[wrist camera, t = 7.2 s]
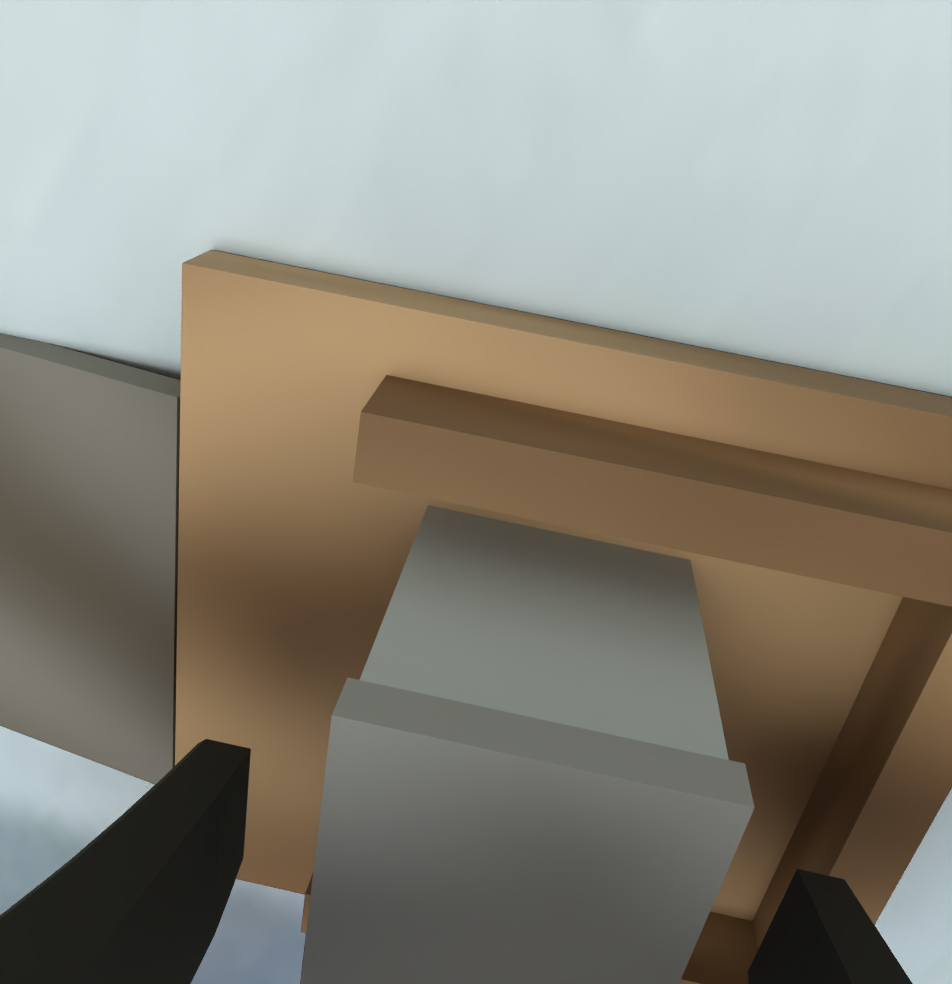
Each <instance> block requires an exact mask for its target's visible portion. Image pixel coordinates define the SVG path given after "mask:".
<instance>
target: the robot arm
mask: <svg viewBox="0 0 952 984" xmlns="http://www.w3.org/2000/svg"><path fill="white" fill-rule="evenodd" d="M250 754H251V749H250V748H246V747H241V746H237V745H232V744H228V743H223V742H219V741H214V740H209V739H205V740H203V741H201V742H199V743H198V744H197V745H196V746H195V747H194V748H193V749H191V750H190V751H189V752H188V753H187V754H186V755H185V756H184V757H183V758H182V759H181V760H180V761H179V762H178V763H177V764H176V765H175V766H174V767H173V768H172V769H171V770H170V771H169V772H168V773H167V774H166V775H165V776H164V777H163V778H162V779H161V780H160V781H159V782H158V783H156V784H155V785H154V786H153V787H152V788H151V789H150V790H149V791H148V792H147V793H146V794H145V795H144V796H142V797H141V798H140V799H139V800H138V801H137V802H136V803H135V804H134V805H133V806H132V807H130V808H129V809H128V810H127V811H126V812H125V813H124V814H123V815H122V816H121V817H119V818H118V819H117V820H116V821H115V822H114V823H112V824H111V825H110V826H109V827H108V828H107V829H106V830H104V831H103V832H102V833H101V834H100V835H99V836H97V837H96V838H95V839H94V840H93V841H92V842H91V843H89V844H88V845H87V846H86V847H85V848H84V849H82V850H81V851H80V852H79V853H78V854H77V855H76V856H74V857H73V858H72V859H71V860H70V861H68V862H67V863H66V864H65V865H63V866H62V867H61V868H60V869H59V870H57V871H56V872H55V873H53V874H52V875H51V876H50V877H48V878H47V879H46V880H45V881H43V882H42V883H41V884H40V885H38V886H37V887H36V888H35V889H33V890H32V891H31V892H29V893H28V894H27V895H26V896H24V897H23V898H22V899H21V900H19V901H18V902H17V903H16V904H14V905H13V906H12V907H10V908H9V909H8V910H7V911H5V912H4V913H3V914H1V915H0V984H190V983H191V981H192V979H193V977H194V975H195V973H196V971H197V969H198V967H199V965H200V963H201V961H202V959H203V957H204V955H205V953H206V951H207V949H208V947H209V945H210V943H211V941H212V939H213V937H214V935H215V932H216V929H217V927H218V924H219V922H220V919H221V917H222V914H223V911H224V909H225V906H226V904H227V901H228V898H229V896H230V893H231V890H232V888H233V885H234V882H235V879H236V877H237V874H238V871H239V869H240V866H241V863H242V860H243V857H244V843H245V828H246V813H247V798H248V784H249V769H250ZM748 981H749V984H912V982H911V981H910V979H909V978H908V976H907V975H906V973H905V972H904V970H903V969H902V967H901V965H900V964H899V962H898V961H897V959H896V958H895V956H894V955H893V953H892V952H891V950H890V949H889V947H888V945H887V944H886V942H885V941H884V939H883V938H882V936H881V935H880V933H879V932H878V930H877V928H876V927H875V925H874V924H873V922H872V921H871V919H870V918H869V916H868V915H867V913H866V911H865V910H864V908H863V907H862V905H861V904H860V902H859V901H858V899H857V898H856V896H855V894H854V893H853V891H852V890H851V888H850V887H849V885H848V884H847V882H846V881H845V879H841V878H836V877H832V876H827V875H823V874H818V873H814V872H809V871H805V870H800V869H797V870H796V872H795V874H794V876H793V878H792V880H791V882H790V884H789V886H788V888H787V891H786V893H785V895H784V897H783V899H782V901H781V903H780V905H779V907H778V909H777V911H776V914H775V916H774V918H773V920H772V922H771V924H770V926H769V928H768V930H767V932H766V934H765V937H764V939H763V941H762V943H761V945H760V947H759V949H758V951H757V953H756V955H755V958H754V960H753V962H752V964H751V966H750V968H749V970H748Z"/></svg>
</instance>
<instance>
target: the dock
mask: <svg viewBox="0 0 952 984" xmlns="http://www.w3.org/2000/svg"><path fill="white" fill-rule="evenodd" d="M428 505H429V506H434V507H439V508H444V509H449V510H453V511H458V512H463V513H468V514H473V515H477V516H482V517H487V518H492V519H497V520H501V521H506V522H511V523H516V524H521V525H525V526H530V527H535V528H540V529H545V530H549V531H554V532H559V533H564V534H569V535H573V536H578V537H583V538H588V539H593V540H597V541H602V542H607V543H612V544H617V545H621V546H626V547H631V548H636V549H641V550H646V551H650V552H655V553H660V554H665V555H670V556H674V557H679V558H684V559H689V560H690V561H691V566H692V571H693V576H694V581H695V587H696V592H697V597H698V602H699V608H700V613H701V618H702V623H703V628H704V634H705V639H706V644H707V649H708V654H709V660H710V665H711V670H712V675H713V680H714V686H715V691H716V696H717V701H718V707H719V712H720V717H721V722H722V727H723V733H724V738H725V743H726V748H727V753H728V759H729V760H731V761H736V762H740V763H745V766H746V770H747V775H748V780H749V784H750V789H751V794H752V798H753V803H754V810H753V812H752V815H751V817H750V819H749V822H748V824H747V826H746V829H745V831H744V833H743V836H742V838H741V840H740V843H739V845H738V847H737V850H736V852H735V854H734V857H733V859H732V861H731V864H730V866H729V868H728V871H727V873H726V875H725V878H724V880H723V882H722V885H721V887H720V889H719V892H718V894H717V896H716V899H715V901H714V903H713V906H712V908H711V910H710V913H709V915H708V917H707V920H706V922H705V924H704V927H703V929H702V931H701V934H700V936H699V938H698V941H697V943H696V945H695V948H694V950H693V952H692V955H691V957H690V959H689V962H688V964H687V966H686V969H685V971H684V973H683V976H682V978H681V980H680V983H679V984H749V981H748V970H749V968H750V966H751V964H752V962H753V960H754V958H755V955H756V953H757V951H758V949H759V947H760V945H761V943H762V941H763V939H764V937H765V934H766V932H767V930H768V928H769V926H770V924H771V922H772V920H773V918H774V916H775V914H776V911H777V909H778V907H779V905H780V903H781V901H782V899H783V897H784V895H785V893H786V891H787V888H788V886H789V884H790V882H791V880H792V878H793V876H794V874H795V872H796V870H797V869H800V870H805V871H809V872H814V873H818V874H823V875H827V876H832V877H836V878H841V879H845V881H846V882H847V884H848V885H849V887H850V888H851V890H852V891H853V893H854V894H855V896H856V898H857V899H858V901H859V902H860V904H861V905H862V907H863V908H864V910H865V911H866V913H867V915H868V916H869V918H870V919H871V921H872V922H873V924H874V925H875V923H876V921H877V920H878V918H879V916H880V914H881V912H882V911H883V909H884V907H885V905H886V904H887V902H888V900H889V898H890V896H891V895H892V893H893V891H894V889H895V888H896V886H897V884H898V882H899V880H900V879H901V877H902V875H903V873H904V871H905V870H906V868H907V866H908V864H909V863H910V861H911V859H912V857H913V855H914V854H915V852H916V850H917V848H918V847H919V845H920V843H921V841H922V839H923V838H924V836H925V834H926V832H927V831H928V829H929V827H930V825H931V823H932V822H933V820H934V818H935V816H936V815H937V813H938V811H939V809H940V807H941V806H942V804H943V802H944V800H945V799H946V797H947V795H948V793H949V791H950V790H951V788H952V397H948V396H943V395H938V394H933V393H928V392H923V391H918V390H913V389H908V388H903V387H898V386H892V385H887V384H882V383H877V382H872V381H867V380H862V379H857V378H852V377H847V376H842V375H837V374H832V373H827V372H822V371H817V370H812V369H807V368H802V367H797V366H792V365H787V364H782V363H777V362H772V361H767V360H762V359H757V358H752V357H747V356H742V355H737V354H732V353H727V352H722V351H717V350H712V349H707V348H702V347H697V346H692V345H686V344H681V343H676V342H671V341H666V340H661V339H656V338H651V337H646V336H641V335H636V334H631V333H626V332H621V331H616V330H611V329H606V328H601V327H596V326H591V325H586V324H581V323H576V322H571V321H566V320H561V319H556V318H551V317H546V316H541V315H536V314H531V313H526V312H521V311H516V310H511V309H506V308H501V307H496V306H491V305H485V304H480V303H475V302H470V301H465V300H460V299H455V298H450V297H445V296H440V295H435V294H430V293H425V292H420V291H415V290H410V289H405V288H400V287H395V286H390V285H385V284H380V283H375V282H370V281H365V280H360V279H355V278H350V277H345V276H340V275H335V274H330V273H325V272H320V271H315V270H310V269H305V268H300V267H295V266H290V265H284V264H279V263H274V262H269V261H264V260H259V259H254V258H249V257H244V256H239V255H234V254H229V253H224V252H219V251H214V250H210V251H208V252H206V253H203V254H201V255H199V256H197V257H195V258H192V259H190V260H188V261H186V262H184V263H182V321H181V380H177V379H174V378H170V377H167V376H163V375H159V374H156V373H152V372H149V371H145V370H142V369H138V368H134V367H131V366H127V365H124V364H120V363H117V362H113V361H109V360H106V359H102V358H99V357H95V356H92V355H88V354H84V353H81V352H77V351H74V350H70V349H67V348H63V347H60V346H56V345H52V344H49V343H45V342H40V341H35V340H30V339H25V338H20V337H15V336H11V335H6V334H1V333H0V726H3V727H5V728H8V729H11V730H13V731H16V732H18V733H21V734H24V735H26V736H29V737H32V738H34V739H37V740H39V741H42V742H45V743H47V744H50V745H53V746H55V747H58V748H61V749H63V750H66V751H68V752H71V753H74V754H76V755H79V756H82V757H84V758H87V759H89V760H92V761H95V762H97V763H100V764H103V765H105V766H108V767H111V768H113V769H116V770H118V771H121V772H124V773H126V774H129V775H132V776H134V777H137V778H140V779H142V780H145V781H147V782H150V783H153V784H156V783H158V782H159V781H160V780H161V779H162V778H163V777H164V776H165V775H166V774H167V773H168V772H169V771H170V770H171V769H172V768H173V767H174V766H175V765H176V764H177V763H178V762H179V761H180V760H181V759H182V758H183V757H184V756H185V755H186V754H187V753H188V752H189V751H190V750H191V749H193V748H194V747H195V746H196V745H197V744H198V743H199V742H201V741H203V740H205V739H209V740H214V741H219V742H223V743H228V744H232V745H237V746H241V747H246V748H250V749H251V754H250V769H249V784H248V798H247V813H246V828H245V843H244V857H243V860H242V863H241V866H240V869H239V871H238V874H237V877H236V879H239V880H243V881H248V882H252V883H257V884H261V885H265V886H270V887H274V888H279V889H283V890H287V891H292V892H296V893H301V894H305V900H304V909H303V918H302V926H301V932H304V933H306V929H307V921H308V913H309V904H310V896H311V887H312V879H313V870H314V862H315V854H316V845H317V837H318V828H319V820H320V811H321V803H322V795H323V786H324V778H325V769H326V761H327V752H328V744H329V736H330V727H331V719H332V714H333V711H334V709H335V707H336V704H337V702H338V699H339V697H340V694H341V692H342V690H343V687H344V685H345V682H346V680H347V677H348V678H352V679H357V680H360V677H361V675H362V672H363V670H364V667H365V665H366V662H367V660H368V657H369V654H370V652H371V649H372V647H373V644H374V642H375V639H376V637H377V634H378V631H379V629H380V626H381V624H382V621H383V619H384V616H385V613H386V611H387V608H388V606H389V603H390V601H391V598H392V596H393V593H394V590H395V588H396V585H397V583H398V580H399V578H400V575H401V573H402V570H403V567H404V565H405V562H406V560H407V557H408V555H409V552H410V550H411V547H412V544H413V542H414V539H415V537H416V534H417V532H418V529H419V527H420V524H421V521H422V519H423V516H424V514H425V511H426V509H427V506H428Z"/></svg>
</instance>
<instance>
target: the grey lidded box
mask: <svg viewBox="0 0 952 984" xmlns="http://www.w3.org/2000/svg"><path fill="white" fill-rule="evenodd" d="M753 810H754V803H753V798H752V794H751V789H750V784H749V780H748V775H747V770H746V766H745V763H740V762H736V761H731V760H729V759H728V753H727V748H726V743H725V738H724V733H723V727H722V722H721V717H720V712H719V707H718V701H717V696H716V691H715V686H714V680H713V675H712V670H711V665H710V660H709V654H708V649H707V644H706V639H705V634H704V628H703V623H702V618H701V613H700V608H699V602H698V597H697V592H696V587H695V581H694V576H693V571H692V566H691V561H690V560H689V559H684V558H679V557H674V556H670V555H665V554H660V553H655V552H650V551H646V550H641V549H636V548H631V547H626V546H621V545H617V544H612V543H607V542H602V541H597V540H593V539H588V538H583V537H578V536H573V535H569V534H564V533H559V532H554V531H549V530H545V529H540V528H535V527H530V526H525V525H521V524H516V523H511V522H506V521H501V520H497V519H492V518H487V517H482V516H477V515H473V514H468V513H463V512H458V511H453V510H449V509H444V508H439V507H434V506H429V505H428V506H427V509H426V511H425V514H424V516H423V519H422V521H421V524H420V527H419V529H418V532H417V534H416V537H415V539H414V542H413V544H412V547H411V550H410V552H409V555H408V557H407V560H406V562H405V565H404V567H403V570H402V573H401V575H400V578H399V580H398V583H397V585H396V588H395V590H394V593H393V596H392V598H391V601H390V603H389V606H388V608H387V611H386V613H385V616H384V619H383V621H382V624H381V626H380V629H379V631H378V634H377V637H376V639H375V642H374V644H373V647H372V649H371V652H370V654H369V657H368V660H367V662H366V665H365V667H364V670H363V672H362V675H361V677H360V680H357V679H352V678H348V677H347V680H346V682H345V685H344V687H343V690H342V692H341V694H340V697H339V699H338V702H337V704H336V707H335V709H334V711H333V714H332V719H331V727H330V736H329V744H328V752H327V761H326V769H325V778H324V786H323V795H322V803H321V811H320V820H319V828H318V837H317V845H316V854H315V862H314V870H313V879H312V887H311V896H310V904H309V913H308V921H307V929H306V938H305V946H304V955H303V963H302V972H301V980H300V984H679V983H680V980H681V978H682V976H683V973H684V971H685V969H686V966H687V964H688V962H689V959H690V957H691V955H692V952H693V950H694V948H695V945H696V943H697V941H698V938H699V936H700V934H701V931H702V929H703V927H704V924H705V922H706V920H707V917H708V915H709V913H710V910H711V908H712V906H713V903H714V901H715V899H716V896H717V894H718V892H719V889H720V887H721V885H722V882H723V880H724V878H725V875H726V873H727V871H728V868H729V866H730V864H731V861H732V859H733V857H734V854H735V852H736V850H737V847H738V845H739V843H740V840H741V838H742V836H743V833H744V831H745V829H746V826H747V824H748V822H749V819H750V817H751V815H752V812H753Z"/></svg>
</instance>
